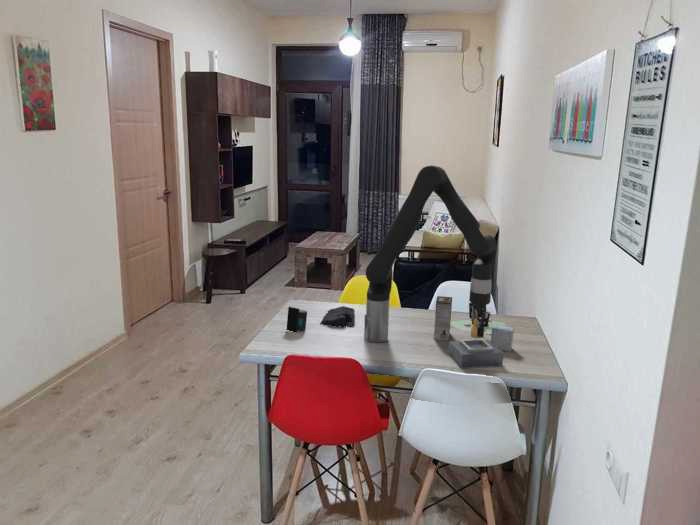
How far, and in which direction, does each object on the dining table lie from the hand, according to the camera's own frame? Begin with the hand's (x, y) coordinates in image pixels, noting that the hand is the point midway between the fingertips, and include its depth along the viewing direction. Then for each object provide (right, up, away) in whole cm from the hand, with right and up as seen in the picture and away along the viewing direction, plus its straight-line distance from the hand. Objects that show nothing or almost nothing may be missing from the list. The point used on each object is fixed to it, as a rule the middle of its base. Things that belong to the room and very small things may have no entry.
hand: (477, 333), depth 207 cm
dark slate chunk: (-52, 0, +44) cm, 68 cm away
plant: (+9, -2, +39) cm, 40 cm away
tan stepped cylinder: (0, -1, 0) cm, 1 cm away
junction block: (0, -10, +2) cm, 10 cm away
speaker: (-69, -2, +29) cm, 75 cm away
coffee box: (-9, -4, +26) cm, 28 cm away
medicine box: (+13, -8, +14) cm, 21 cm away
